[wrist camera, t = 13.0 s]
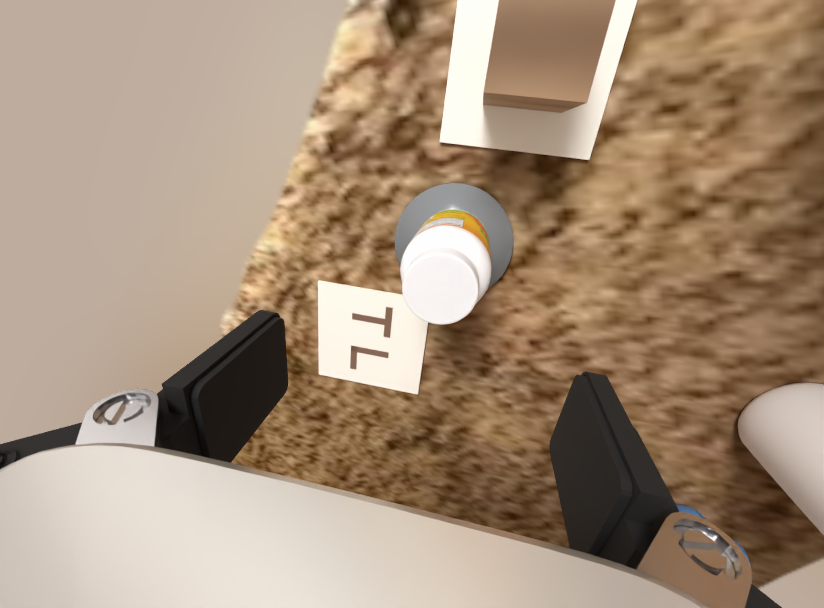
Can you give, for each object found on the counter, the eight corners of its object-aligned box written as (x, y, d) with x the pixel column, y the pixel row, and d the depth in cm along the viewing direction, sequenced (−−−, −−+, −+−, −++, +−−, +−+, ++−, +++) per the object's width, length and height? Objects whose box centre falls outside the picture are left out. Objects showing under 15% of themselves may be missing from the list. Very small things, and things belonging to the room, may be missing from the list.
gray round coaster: (401, 175, 26) (400, 175, 25) (525, 191, 25) (526, 192, 24) (391, 287, 30) (390, 289, 29) (498, 305, 29) (498, 308, 28)
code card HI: (464, -49, 20) (464, -51, 20) (647, -39, 19) (649, -41, 19) (439, 142, 24) (439, 142, 24) (588, 159, 23) (589, 159, 23)
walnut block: (498, 8, 21) (505, -40, 15) (586, 14, 20) (625, -33, 15) (482, 104, 23) (483, 92, 17) (561, 112, 22) (587, 102, 17)
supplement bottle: (490, 274, 27) (495, 335, 18) (422, 279, 28) (397, 338, 20) (487, 203, 25) (490, 234, 16) (413, 211, 26) (380, 244, 18)
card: (319, 280, 31) (317, 281, 30) (431, 299, 29) (431, 300, 29) (319, 373, 35) (318, 374, 35) (418, 393, 34) (417, 394, 34)
